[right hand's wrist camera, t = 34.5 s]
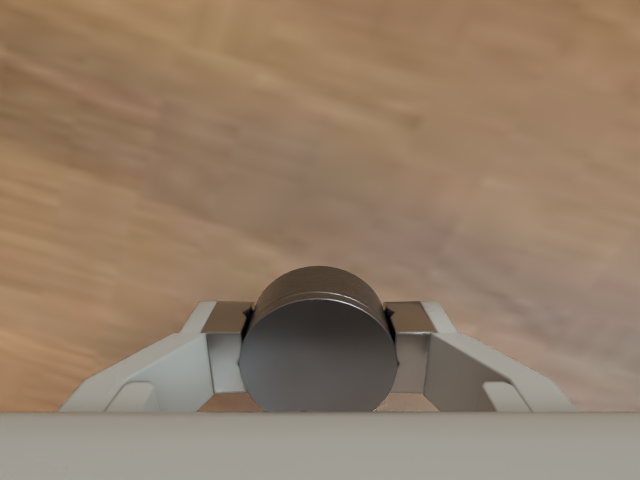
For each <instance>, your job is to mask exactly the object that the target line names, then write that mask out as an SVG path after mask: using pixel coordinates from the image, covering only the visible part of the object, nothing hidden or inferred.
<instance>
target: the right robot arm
mask: <svg viewBox="0 0 640 480" xmlns="http://www.w3.org/2000/svg"><path fill="white" fill-rule="evenodd" d="M382 307H383V310H384V313H385V316H386V319H387V323H388V326H389V329H390V332H391V335H392V339H393V342H394V345H395V348H396V352H397V359H398V367H397V374H396V378H395V381H394V384H393V386H392V388H391V390H390V392H392V393H424V394H423V395H424V396H425V397H426V398H427V399H428V400H429V401H430V402H431V403H432V404H433V405H434V406H435V407H436V408H437V409H439V410H440V411H441V412H197V411H198V410H199V409H200V408H201V407H202V406H203V405H204V404H205V403H206V402H207V401H208V400H209V399H210V398H211V397H212V396H213V393H244V392H247V390H246V388H245V386H244V384H243V381H242V378H241V375H240V369H239V355H240V349H241V346H242V343H243V340H244V337H245V334H246V331H247V329H248V326H249V323H250V320H251V317H252V314H253V311H254V308H255V304H254V302H233V301H219V302H218V301H201V302H199V303H198V304H197V305H196V307H195V309H194V310H193V312H192V313H191V315H190V316H189V318H188V319H187V321H186V322H185V324H184V326H183V327H182V329H181V330H180V332H179V333H172V334H170V335H168V336H167V337H165V338H163V339H161V340H159V341H157V342H155V343H153V344H151V345H149V346H148V347H146V348H144V349H142V350H140V351H138V352H136V353H134V354H132V355H130V356H129V357H127V358H125V359H123V360H121V361H119V362H117V363H115V364H113V365H111V366H110V367H108V368H106V369H104V370H102V371H100V372H98V373H96V374H94V375H92V376H91V377H89V378H87V379H85V380H83V382H82V383H81V384H80V385H79V386H78V387H77V388H76V390H75V391H74V392H73V393H72V394H71V395H70V396H69V397H68V399H67V400H66V401H65V402H64V403H63V404H62V405H61V406H60V408H59V409H58V410H57V411H56V412H0V480H640V412H580V411H579V410H578V409H577V408H576V407H575V406H574V404H573V403H572V402H571V401H570V400H569V399H568V397H567V396H566V395H565V394H564V393H563V392H562V391H561V389H560V388H559V387H558V386H557V385H556V384H555V382H554V381H553V380H551V379H549V378H547V377H545V376H543V375H542V374H540V373H538V372H536V371H534V370H532V369H530V368H528V367H527V366H525V365H523V364H521V363H519V362H517V361H515V360H513V359H512V358H510V357H508V356H506V355H504V354H502V353H500V352H498V351H497V350H495V349H493V348H491V347H489V346H487V345H485V344H483V343H481V342H480V341H478V340H476V339H474V338H472V337H470V336H468V335H466V334H465V333H458V332H457V330H456V329H455V327H454V326H453V324H452V323H451V321H450V319H449V318H448V316H447V315H446V313H445V312H444V310H443V309H442V307H441V305H440V304H439V302H437V301H411V302H384V303H383V306H382Z"/></svg>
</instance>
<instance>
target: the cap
mask: <svg viewBox="0 0 640 480" xmlns="http://www.w3.org/2000/svg"><path fill="white" fill-rule="evenodd" d="M397 367H398V359H397V352H396V348H395V345H394V342H393V339H392V335H391V332H390V329H389V326H388V323H387V319H386V316H385V313H384V310H383V307H382V304H381V302H380V300H379V298H378V296H377V295H376V293H375V292H374V291H373V290H372V289H371V287H370V286H369V285H368V284H366V283H365V282H364V281H363V280H362V279H360V278H358V277H357V276H355V275H354V274H351V273H349V272H347V271H344V270H341V269H338V268H333V267H328V266H310V267H304V268H299V269H296V270H293V271H290V272H288V273H286V274H284V275H282V276H280V277H279V278H277V279H276V280H274V281H273V282H272V283H271V284H270V285H269V286H268V287H267V288H266V289H265V290H264V291H263V293H262V294H261V296H260V297H259V299H258V301H257V303H256V305H255V308H254V311H253V314H252V317H251V320H250V323H249V326H248V329H247V331H246V334H245V337H244V340H243V343H242V346H241V349H240V355H239V369H240V375H241V378H242V381H243V384H244V386H245V388H246V390H247V392H248V393H249V395H250V396H251V398H252V399H253V400H254V401H255V402H256V403H257V404H258V406H260V407H261V408H262V409H263V410H264V411H266V412H372V411H373V410H374V409H375V408H376V407H378V406H379V405H380V404H381V402H382V401H383V400H384V399H385V398H386V396H387V395H388V394H389V392H390V390H391V388H392V386H393V384H394V381H395V378H396V374H397Z"/></svg>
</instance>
